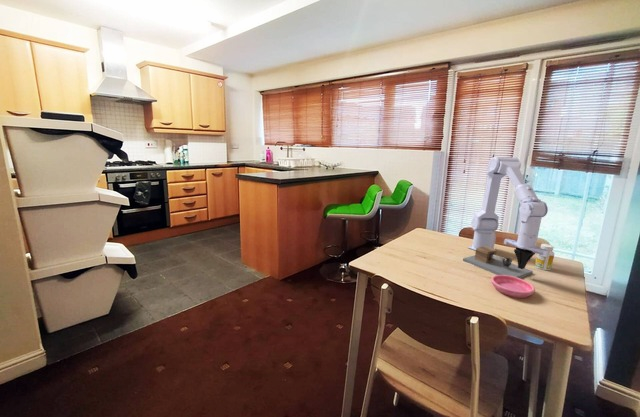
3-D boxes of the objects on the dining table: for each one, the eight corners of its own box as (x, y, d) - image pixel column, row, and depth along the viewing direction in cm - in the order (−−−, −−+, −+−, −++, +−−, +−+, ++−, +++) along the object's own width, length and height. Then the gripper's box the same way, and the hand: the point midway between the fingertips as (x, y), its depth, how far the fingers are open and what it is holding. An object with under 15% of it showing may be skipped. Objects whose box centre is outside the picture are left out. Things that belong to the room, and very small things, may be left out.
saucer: (517, 304, 90) (519, 295, 90) (481, 285, 101) (483, 277, 101) (541, 296, 95) (543, 288, 94) (505, 280, 106) (506, 272, 106)
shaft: (485, 256, 123) (486, 248, 122) (510, 266, 114) (512, 257, 113) (479, 257, 121) (481, 249, 120) (505, 267, 112) (507, 259, 111)
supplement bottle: (548, 266, 119) (553, 244, 117) (552, 271, 114) (558, 248, 112) (533, 264, 121) (537, 242, 119) (536, 269, 116) (541, 246, 114)
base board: (482, 255, 129) (483, 253, 129) (532, 273, 112) (532, 271, 112) (462, 260, 122) (463, 258, 122) (512, 280, 105) (512, 278, 105)
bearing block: (483, 256, 125) (485, 245, 124) (494, 260, 121) (496, 249, 119) (474, 258, 122) (476, 248, 121) (485, 263, 118) (487, 252, 117)
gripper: (501, 229, 110) (495, 262, 113) (545, 241, 98) (537, 278, 101) (512, 227, 113) (506, 259, 116) (555, 238, 101) (547, 274, 104)
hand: (521, 267), depth 109 cm, fingers closed
